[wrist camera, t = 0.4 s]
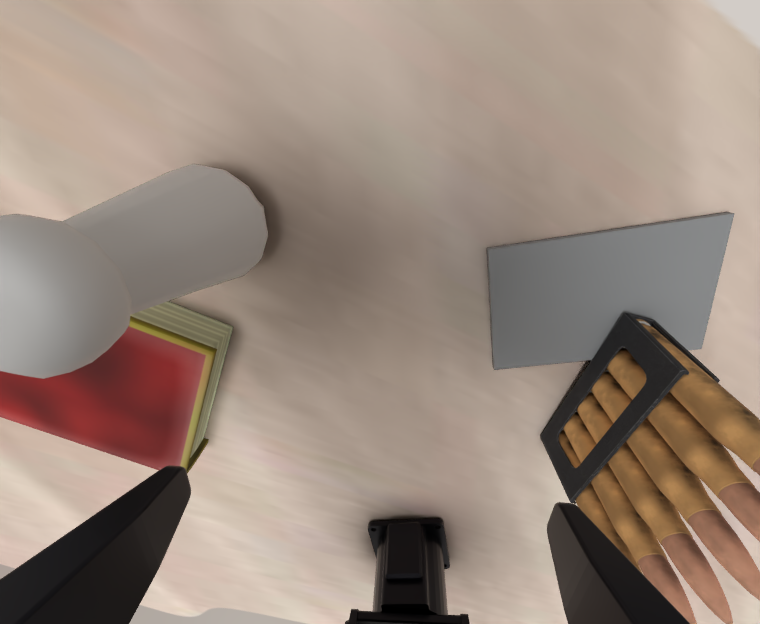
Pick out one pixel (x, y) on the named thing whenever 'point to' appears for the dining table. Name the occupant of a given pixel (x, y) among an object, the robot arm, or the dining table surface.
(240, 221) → the salt shaker
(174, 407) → the hardcover book
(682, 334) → the mat
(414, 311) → the dining table surface
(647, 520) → the ammunition clip
